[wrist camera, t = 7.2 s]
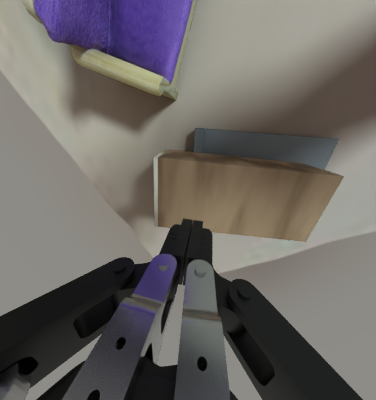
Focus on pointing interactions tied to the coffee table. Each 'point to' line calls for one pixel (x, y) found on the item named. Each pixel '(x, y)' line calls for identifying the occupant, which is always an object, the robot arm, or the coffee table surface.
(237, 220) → the walnut block
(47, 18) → the toy sofa
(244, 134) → the mat
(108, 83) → the coffee table surface
